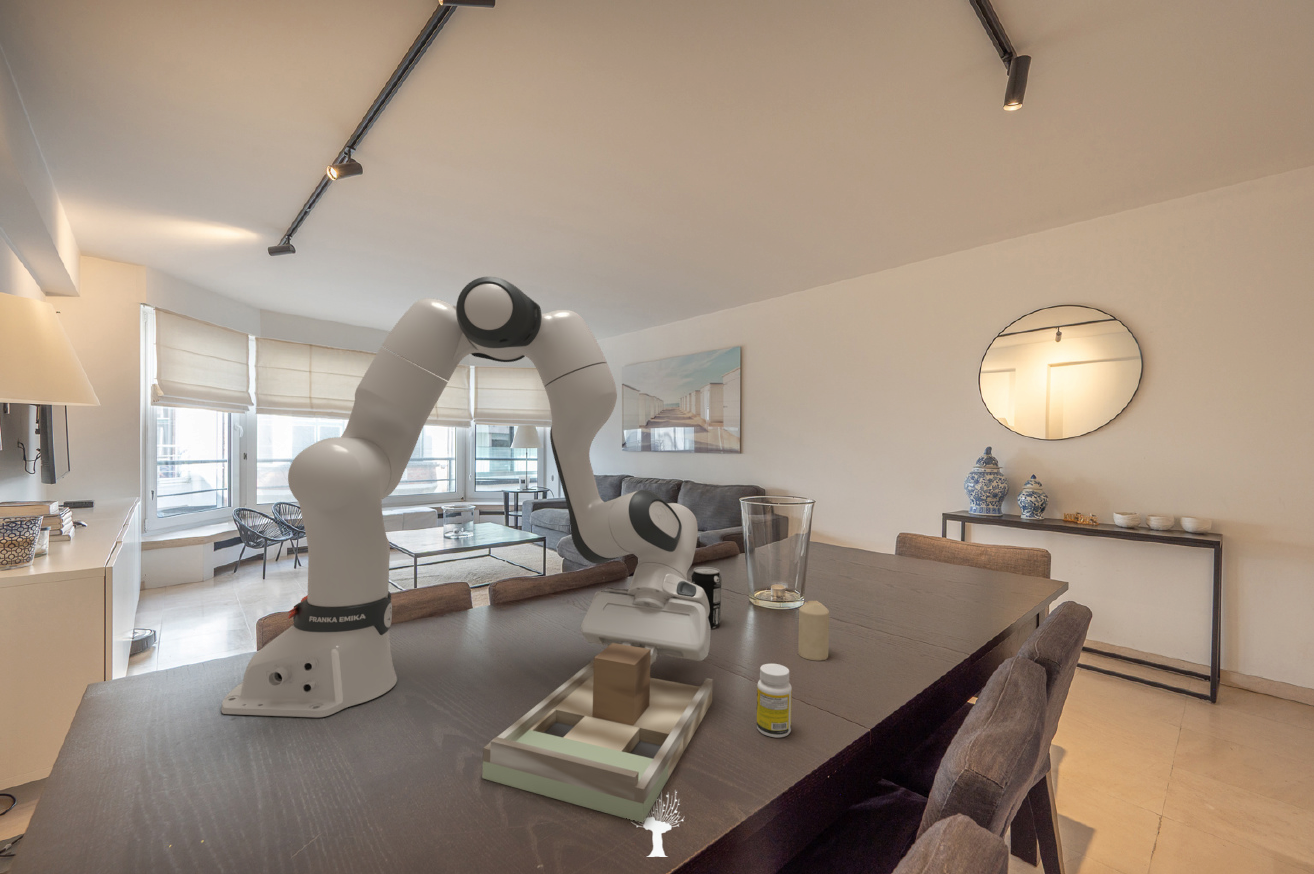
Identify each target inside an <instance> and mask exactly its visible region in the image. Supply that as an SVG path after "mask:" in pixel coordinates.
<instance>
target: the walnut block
mask: <svg viewBox="0 0 1314 874" xmlns="http://www.w3.org/2000/svg"><path fill="white" fill-rule="evenodd" d="M650 659H651V649H646V648H640V647H634V646H628V645H622V644H616V643H612V644H610V645H609V646H606V648H604V649H603V650H602V651H601V652H599V653H598V654H597V655H596V656H594V657H593V660H594V675H593V714H592V717H596V718H600V719H605V720H609V721H614V722H619V723H623V724H628V725H634V724H635V723H636V722H637V720H638V719H639V718H640V717H641V715H642V714H643V713H644V712H645V710H646V709H647V708H648V707H649V699H650V678H651V665H650Z"/></svg>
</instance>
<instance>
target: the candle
mask: <svg viewBox="0 0 1314 874" xmlns="http://www.w3.org/2000/svg"><path fill="white" fill-rule="evenodd" d="M829 636H830V611H829V609H828V608H827V607H826V606H825V605H824V604H822V603H821V602H819V601H818V600H808V601H805V602H804V603H803V604H802V605H800V607H799V608H798V645H797V646H798V649H797V650H798V652H797V653H798V655H799V656H800V657H801V658H803V659H806V660H810V661H819V662H821V661H825V660H827V659H828V658H829V649H830V647H829V646H830V645H829V643H830V641H829V639H830V637H829Z"/></svg>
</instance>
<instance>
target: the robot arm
mask: <svg viewBox="0 0 1314 874" xmlns="http://www.w3.org/2000/svg"><path fill="white" fill-rule="evenodd" d="M456 301H457V302H456V305H453V304H451V303H449V302H446V301H444V300H442V299H438V298H434V297H433V298H432V297H431V298H430V297H427V298H426V297H425V298H421V299H418V300H417V301H415V302H414V303H413V304H412V305H411V306H410V307H409V309H407V310H406V312H405V313H404V314H403V315H402V316H401V317H400V319H399V320H398V321H397V323H396V324H395V325H394V326H393V328H392V329H391V331H390V332H389V333H388V335H387V336H386V338H385V339H384V341H383V343H382V344H381V347H380V348H379V349H378V352H377V353H376V354H375V356H374V358H373V359H372V361H371V363H370V365H369V366H368V369H367V370H366V372H365V373H364V375H363V377H362V378H361V380H360V381H359V384H358V385H357V387H356V389H355V393H354V403H353V406H352V410H351V413H350V416H349V419H348V421H347V423H346V428H345V429H344V431H343V433H342V435H341V436H339V437H338V436H337V437H336V436H335V437H328V438H323V439H322V440H319V441H316V442H314V443H313V444H311V445H309V446H307V447H306V448H305V449H303V450H302V451H300V452H299V453H298V454H297V455H296V456H295V458H293V460H292V462H291V463H290V466H289V469H288V473H287V480H288V481H287V482H288V483H287V484H288V486H289V490H290V492H291V494H292V495H293V497H294V498H295V499H296V501H297V502H298V504H299V508H300V514H301V519H302V523H303V527H304V531H305V532H304V533H305V537H306V543H307V553H308V555H307V557H308V559H307V561H308V563H307V568H308V569H307V595H306V596H304V597H302V598H301V600H300V602H298V603H297V604H295V605H294V606H293V608H292V609H290V610H289V611H288V613H289V614H288V616H287V617H288V619H289V620H290V619H292V618H293V619H292V621H293V623H292V625H291V626H290V627H289V628H287V629H286V630H284V631H283V632H282V633H280V634H279V635H277V636H276V637H275V638H274V639H272V640H271V641H269V642H268V643H267V644H266V645H264V646H263V647H261V648H260V650H258V651H257V652H256V653H255V654H254V655H253V656H252V657H251V659H250V660H249V662H248V664H247V666H246V668H245V671H244V672H245V673H244V675H243V679H242V682H241V683H239V684H238V685H237V686H235V687H234V688H233V689H231V690H230V691H229V692H228V693H227V694H226V696H225V697H224V698H223V700H222V703H221V707H220V709H221V711H220V712H221V713H222V714H225V715H239V716H240V715H242V716H243V715H245V716H246V715H247V716H267V717H268V716H269V717H270V716H273V717H295V718H296V717H299V718H324V717H328V716H331V715H333V714H336V713H338V712H340V711H342V710H344V709H347V708H348V707H352V706H356V705H359V704H364V703H367V702H368V701H372V700H373V699H376V698H378V697H380V696H382V695H384V694H386V693H388V692H389V691H390V690H392V688H394V687H395V685H396V684H397V682H398V676H397V673H396V671H395V668H394V663H393V659H392V657H393V656H392V652H391V651H392V649H391V643H390V631H389V630H391V629H390V628H391V625H392V618H393V617H392V616H393V615H392V614H393V604H392V594H391V592H390V591H389V589H390V588H389V585H390V583H389V582H390V554H391V552H390V551H391V550H390V549H391V545H390V541H389V539H388V537H387V533H386V528H385V527H386V526H385V522H384V517H383V516H384V515H383V509H382V508H383V507H382V500H383V499H385V498H387V497H388V496H389V495H391V494H392V493H393V492H394V491H395V490H396V488H397V487H398V486H399V483H400V482H401V480H402V478H403V474H404V473H405V470H406V468H407V467H408V465H409V463H410V459H411V457H412V456H413V452H414V450H415V448H416V446H417V443H418V440H419V437H420V435H421V433H422V430H423V429H424V427H425V423H426V422H427V420H428V418H429V416H431V413H432V411H433V409H434V408H435V406H436V405H437V402H438V400H439V399H440V397H441V395H442V393H443V392H444V391H445V388H446V387H447V385H448V383H449V381H450V380H451V377H452V376H453V374H454V372H455V370H456V369H457V367H458V365H459V364H460V363H461V361H462V360H463V359H464V358H465V357H467V356H469V355H471V356H473V357H475V358H479V359H484V360H485V359H486V360H492V361H495V362H500V363H512V362H517V361H520V360H522V359H524V358H525V357H526V358H527V359H529V360H530V361H531V363H533V365H534V367H535V369H536V370H537V373H538V374H539V378H540V380H541V382H542V385H543V387H544V390H545V392H546V395H547V398H548V402H549V407H550V414H551V427H550V430H549V438H550V446H551V449H552V454H553V459H554V462H555V466H556V470H557V473H558V477H559V481H560V485H561V488H562V492H563V495H564V499H565V502H566V506H567V510H568V515H569V516H568V517H569V523H570V524H569V525H570V534H571V540H572V543H573V545H574V547H575V549H576V551H577V552H578V553H579V554H580V556H581V557H583V558H584V559H585V560H586V561H587V562H589V563H592V564H596V565H600V564H605V563H607V562H610V561H613V560H615V559H618V558H620V557H623V556H627V555H631V554H633V555H635V557H636V558H637V559H638V562H637V565H636V567H635V571H634V573H633V576H632V579H631V582H630V585H629V587H628V588H616V587H615V588H614V587H613V586H612V587H611V586H606V587H604V588H603V589H600V590H598V591H596V592H595V593H594V595H593V598H592V601H591V603H590V605H589V608H588V609H587V611H586V613H585V616H584V618H583V620H582V622H581V624H580V631H581V634H582V636H583V638H584V639H585V640H586V641H587V642H588V643H590V644H597V645H601V646H606V647H608V646H609V645H610V644H612V643H616V644H622V645H628V646H634V647H640V648H646V649H651V659H650V666H652V664H653V663H654V662H656V660H657V656H658V655H663V656H668V657H673V658H674V657H675V658H678V659H679V658H681V659H686V660H692V661H697V662H702V661H704V659H706V658H707V656H708V655H709V652H710V646H711V645H710V644H711V635H712V634H711V633H712V632H711V631H712V629H711V627H710V623H709V619H708V616H709V613H710V607H709V602H708V598H707V596H706V593H705V591H704V590H703V588H701V587H700V586H697V585H695V584H693V583H691V581H688V571H689V569H690V568H691V566H692V564H693V561H694V556H695V552H696V548H697V543H698V542H697V541H698V535H699V534H698V532H699V531H698V529H699V526H698V521H697V520H698V519H697V518H696V516H695V514H694V513H693V512H692V511H691V510H690V509H689V507H686V506H684V505H683V504H680V503H676V502H669V503H668V502H667V501H665V500H664V499H663V498H662V497H661V496H660V495H658V494H657V493H655V492H654V491H652V490H649V489H640V490H636V491H632V492H629V493H626V494H623V495H620V496H618V497H616V498H613V499H611V500H610V499H609V500H607V501H603V499H602V498H601V495H600V493H599V489H598V486H597V482H596V478H595V474H594V471H593V467H592V463H591V459H590V458H591V457H590V450H591V445H592V443H593V441H594V439H595V437H596V436H597V434H598V432H599V431H600V430H601V429H602V428H603V426H605V424H606V423H607V421H608V420H610V417H611V415H612V414H613V412H614V409H615V407H616V403H617V399H618V394H617V392H618V391H617V387H616V386H617V385H616V381H615V379H614V376H613V374H612V372H611V369H610V367H609V365H608V362H607V360H606V357H605V356H604V353H603V351H602V349H601V346H600V345H599V343H598V341H597V339H596V337H595V336H594V334H593V332H592V331H591V329H590V327H589V326H588V324H587V322H585V321H586V320H584V318H583V317H582V316H581V315H580V314H579V313H577V312H575V311H574V310H569V309H557V310H552V311H549V312H545V313H543V312H542V309H541V307H540V305H539V304H538V303H537V302H536V301H534V300H533V299H532V298H531V297H530V296H528V295H527V294H526V293H524V292H523V291H522V290H521V289H520V288H518V287H517V286H516V285H514V284H512V283H511V282H509V281H507V280H506V279H503V278H500V277H496V276H482V277H478V278H476V279H473V280H471V281H470V282H468V283H467V284H466V285H465V286H464V287H463V289H462V290H461V291H460V293H459V295H458V298H457V300H456Z"/></svg>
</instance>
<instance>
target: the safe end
mask: <svg viewBox="0 0 1314 874" xmlns="http://www.w3.org/2000/svg"><path fill="white" fill-rule="evenodd" d="M515 742H519V743H523V744H527V745H531V746H535V747H539V748H543V749H547V750H551V751H555V752H559V753H564V754H568V755H572V756H576V757H580V758H584V759H588V760H592V761H596V762H600V763H604V764H608V765H612V766H616V767H620V768H624V769H628V770H632V771H636V772H639V777H638V781H639V780H640V778H641V777H642V775H643V774H644V772H645V771H646V769H647V768H648V766H649V765H650V763H651V762H652V760H653V759H651V758H647V757H643V756H639V755H634V754H630V753H626V752H622V751H617V750H613V749H609V748H605V747H600V746H596V745H592V744H588V743H583V742H579V741H575V740H571V739H566V738H562V737H558V736H554V735H550V734H545V733H541V732H537V731H533V730H528V731H527V732H526V733H524V734H523V735H522V736H521V737H520V738H519V739H517V740H516V741H515ZM481 773H482V777H481V778H482V779H484V780H487V781H490V782H495V783H497V784H502V785H505V786H508V787H512V788H516V789H520V790H523V791H527V792H530V793H533V794H537V795H540V796H544V797H547V798H551V799H554V800H555V799H556V800H557V801H561V802H566V803H570V804H573V805H577V806H580V807H583V808H587V809H590V810H594V811H597V812H598V811H599V812H600V813H601V812H602V813H605V814H608V815H612V816H615V817H620V818H622V819H626V818H627V820H629V819H630V820H629V821H633V820H635V821H634V822H637V821H640V822H643V821H644V822H645V820H646V819H647V816H648V815H649V813H650V811H651V810H652V808H653V806H654V805H655V802H656V801H657V800H658V797H659V795H660V794H661V792H662V791H663V788H664V787H665V785H666V783H667V782H668V780H669V778H668V764H667V765H666V767H665V769H664V770H663V772H662V774H661V775H660V777H659V779H658V780H657V782H656V784H655V785H654V787H653V789H652V790H651V792H650V794H649V795H648V797H647V799H646V800H645V802H644V804H642V803H638V802H635V801H631V800H627V799H623V798H620V797H616V796H612V795H608V794H605V793H601V792H597V791H593V790H590V789H586V788H582V787H578V786H575V785H571V784H567V783H563V782H560V781H556V780H552V779H548V778H545V777H541V776H537V775H534V774H530V773H526V772H522V771H519V770H515V769H511V768H507V767H504V766H500V765H496V764H492V763H489V762H485V761H483V760H482V772H481ZM645 818H646V819H645ZM644 819H645V820H644ZM640 822H639V823H640ZM644 822H643V823H644Z"/></svg>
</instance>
